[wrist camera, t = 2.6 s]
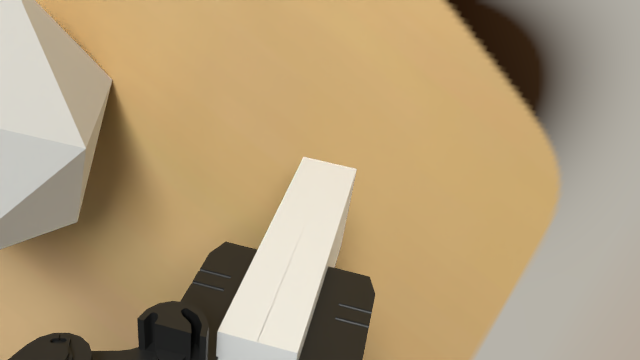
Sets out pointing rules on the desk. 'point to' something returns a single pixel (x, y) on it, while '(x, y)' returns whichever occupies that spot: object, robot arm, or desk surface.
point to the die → (44, 122)
